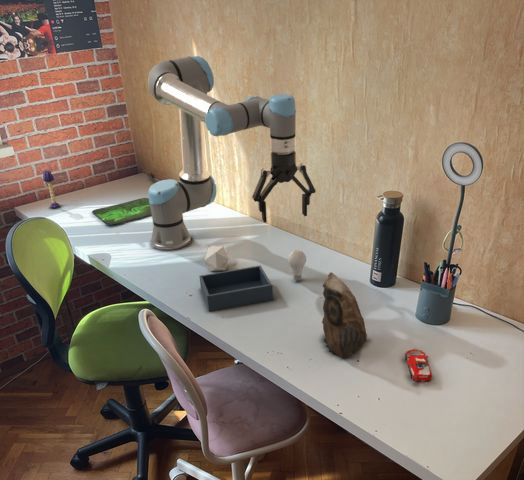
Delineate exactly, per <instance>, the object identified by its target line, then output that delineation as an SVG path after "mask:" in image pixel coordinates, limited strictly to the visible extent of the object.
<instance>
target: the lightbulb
mask: <svg viewBox="0 0 524 480" xmlns="http://www.w3.org/2000/svg"><path fill="white" fill-rule="evenodd" d="M287 263H288V265H289V266H290V268H291V271H292V274H293V280H294V281H296V282H299V281H300V280H301V279H302V274H303V269H304V267H305V265H306V263H307V255H306V253H304V251H303V250H302V251H301V250H300V249H294V250H292V251H291V252H290V253H289V254H288V256H287Z"/></svg>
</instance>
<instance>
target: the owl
mask: <svg viewBox="0 0 524 480" xmlns="http://www.w3.org/2000/svg"><path fill="white" fill-rule="evenodd" d="M322 287H323V291H322V295H323V298H324V300H323V305H322V310H323V317H322V320H321V323H322V330H323V333H324V338H323V343H325V344H326V345H325V347H326V348H328V352H329V353H331V354H332V355H334V356H337V357H339V358H341V359H347V358H349V357H350V356H351V355H352V354H355V352H356V351H357V350H359V349H360V348H362V347H363V346H364V345H365V344H366V343H367V342H368V340H367V339H368V334H367V329H366V324H365V320H364V318H363V315H362V313H361V309H360V306H359V303H358V301H357V299H356V296H355V295H354V293H353V292H352V290H351V289H350V287H348V286H347V284H346V283H345V282H343V281H342V280H341V279H340V278H339V277H338V276H337V275H336V274H334V273H333V271H332V272H329V273H328V275H327V278H326V280H325V281H324V282H323V283H322Z"/></svg>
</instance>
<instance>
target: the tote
mask: <svg viewBox="0 0 524 480" xmlns="http://www.w3.org/2000/svg"><path fill="white" fill-rule="evenodd" d="M198 277H199V284H200V292H201V294H202V296H203V299H204V301H205V304H206V307H207V310H208V312H215V311H218V310H224V309H225V310H226V309H230V308H235V307H241V306H246V305H253V304H258V303H263V302H268V301H273V300H274V293H273V284H272V281H271V280H270V278H269V277H268V276H267V273H266V272H265V270H264V269H263V267H262V266H261V265H255V266H248V267H243V268H237V269H231V270H230V269H229V270H225V271H217V272H214V273H206V274H202V275H199V276H198Z"/></svg>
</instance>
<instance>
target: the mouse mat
mask: <svg viewBox="0 0 524 480" xmlns="http://www.w3.org/2000/svg"><path fill="white" fill-rule="evenodd" d="M91 214H92V215H94V216H95V217H96V218H98V219H99V220H100V221H101V222H102V223H104V224H105V225H106V226H116V225H119V224H123V223H128V222H131V221H134V220H135V221H136V220H139V219H142V218H145V217H146V218H147V217H150V216H152V214H151V208H150V203H149V197H148V198H147V197H142V198H137V199H133V200H130V201H126V202H121V203H118V204H113V205H110V206H106V207H105V206H104V207H100V208H96V209H93V210H92V211H91Z"/></svg>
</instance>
